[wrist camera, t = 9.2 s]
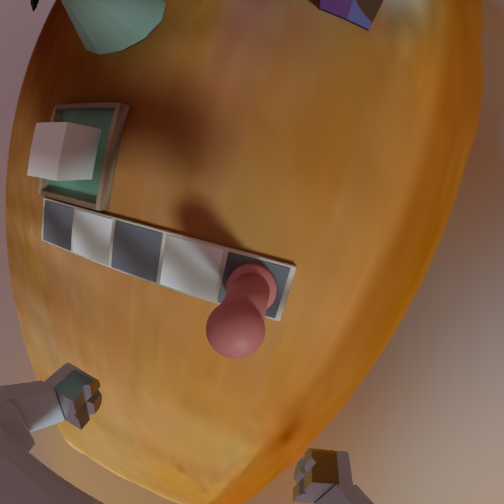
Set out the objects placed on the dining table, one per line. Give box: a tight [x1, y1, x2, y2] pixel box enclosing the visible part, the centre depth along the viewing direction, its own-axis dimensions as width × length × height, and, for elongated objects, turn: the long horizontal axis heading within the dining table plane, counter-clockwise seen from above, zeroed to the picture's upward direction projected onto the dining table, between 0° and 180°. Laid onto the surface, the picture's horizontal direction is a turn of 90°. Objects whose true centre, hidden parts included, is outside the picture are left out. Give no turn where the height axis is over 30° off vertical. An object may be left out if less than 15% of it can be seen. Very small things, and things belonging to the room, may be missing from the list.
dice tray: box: [38, 102, 130, 211], centre depth 22 cm, size 10×10×2 cm
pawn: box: [206, 263, 277, 358], centre depth 18 cm, size 4×4×9 cm
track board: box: [42, 198, 296, 321], centre depth 24 cm, size 5×28×1 cm, turn 76°
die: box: [27, 122, 102, 181], centre depth 20 cm, size 5×5×5 cm
